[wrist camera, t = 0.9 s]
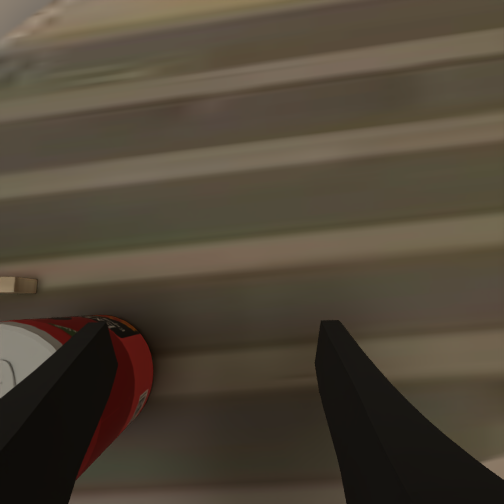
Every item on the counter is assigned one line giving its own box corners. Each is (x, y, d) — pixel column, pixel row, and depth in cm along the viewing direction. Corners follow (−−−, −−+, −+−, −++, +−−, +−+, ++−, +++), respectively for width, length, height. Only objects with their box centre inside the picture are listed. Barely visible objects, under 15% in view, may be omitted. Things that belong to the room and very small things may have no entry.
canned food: (148, 305, 24) (71, 305, 14) (165, 421, 23) (94, 523, 12) (41, 325, 24) (-127, 342, 13) (52, 444, 23) (-122, 569, 12)
